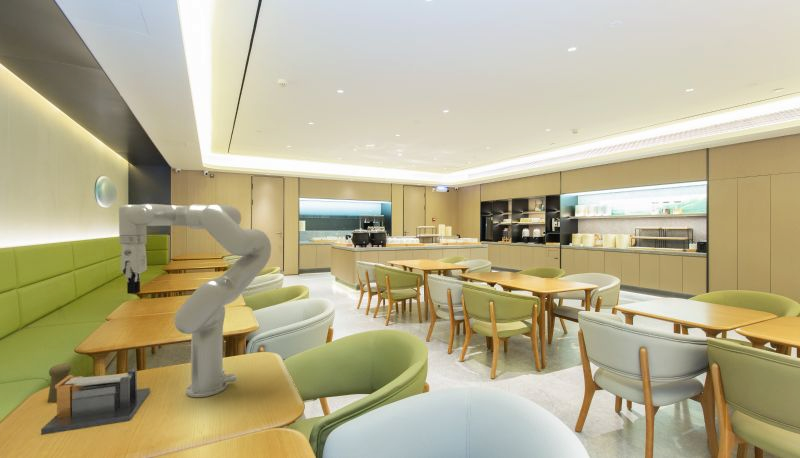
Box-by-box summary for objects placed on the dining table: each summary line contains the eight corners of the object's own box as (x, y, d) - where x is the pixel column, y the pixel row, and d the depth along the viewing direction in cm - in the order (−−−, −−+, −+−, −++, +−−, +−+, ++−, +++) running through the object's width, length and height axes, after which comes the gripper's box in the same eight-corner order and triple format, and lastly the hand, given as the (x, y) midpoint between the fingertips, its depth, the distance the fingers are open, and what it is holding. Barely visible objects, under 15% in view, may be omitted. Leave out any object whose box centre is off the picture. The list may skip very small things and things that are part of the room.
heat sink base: (149, 392, 119) (149, 360, 119) (129, 420, 102) (129, 383, 102) (75, 402, 112) (75, 368, 112) (41, 434, 96) (40, 394, 95)
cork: (57, 403, 112) (56, 369, 111) (42, 401, 113) (41, 367, 112) (78, 394, 117) (77, 362, 117) (63, 392, 119) (63, 360, 118)
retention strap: (133, 376, 112) (133, 372, 112) (128, 381, 108) (128, 378, 108) (71, 381, 106) (71, 377, 106) (64, 387, 103) (64, 383, 103)
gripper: (138, 241, 116) (139, 296, 116) (152, 239, 130) (153, 288, 130) (110, 241, 113) (111, 298, 114) (128, 239, 127) (128, 289, 128)
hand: (133, 292), depth 122 cm, fingers closed
